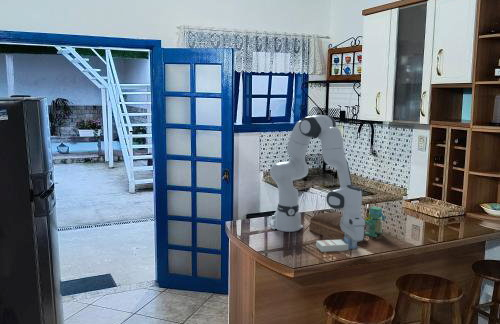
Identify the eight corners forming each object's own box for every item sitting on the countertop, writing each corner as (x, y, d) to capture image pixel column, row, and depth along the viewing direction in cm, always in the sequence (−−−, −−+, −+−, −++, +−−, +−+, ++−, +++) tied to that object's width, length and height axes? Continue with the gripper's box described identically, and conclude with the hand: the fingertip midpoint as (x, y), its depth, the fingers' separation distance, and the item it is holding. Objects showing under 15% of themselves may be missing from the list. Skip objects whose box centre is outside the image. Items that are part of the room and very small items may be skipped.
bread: (328, 226, 265) (329, 207, 263) (367, 240, 241) (368, 219, 239) (307, 230, 256) (307, 210, 254) (344, 245, 231) (345, 223, 230)
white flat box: (315, 246, 228) (316, 240, 227) (341, 244, 231) (341, 239, 230) (321, 251, 220) (322, 245, 220) (348, 250, 223) (348, 244, 223)
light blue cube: (343, 245, 230) (343, 235, 229) (352, 245, 231) (353, 235, 230) (347, 249, 225) (348, 238, 224) (356, 248, 226) (357, 238, 225)
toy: (369, 230, 257) (370, 205, 255) (386, 234, 251) (388, 208, 249) (362, 234, 249) (363, 208, 247) (379, 238, 243) (381, 211, 241)
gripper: (337, 212, 235) (336, 237, 237) (354, 223, 215) (353, 251, 217) (348, 211, 236) (347, 237, 238) (367, 222, 216) (365, 250, 218)
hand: (350, 243), depth 227 cm, fingers closed on light blue cube, 5 cm apart
